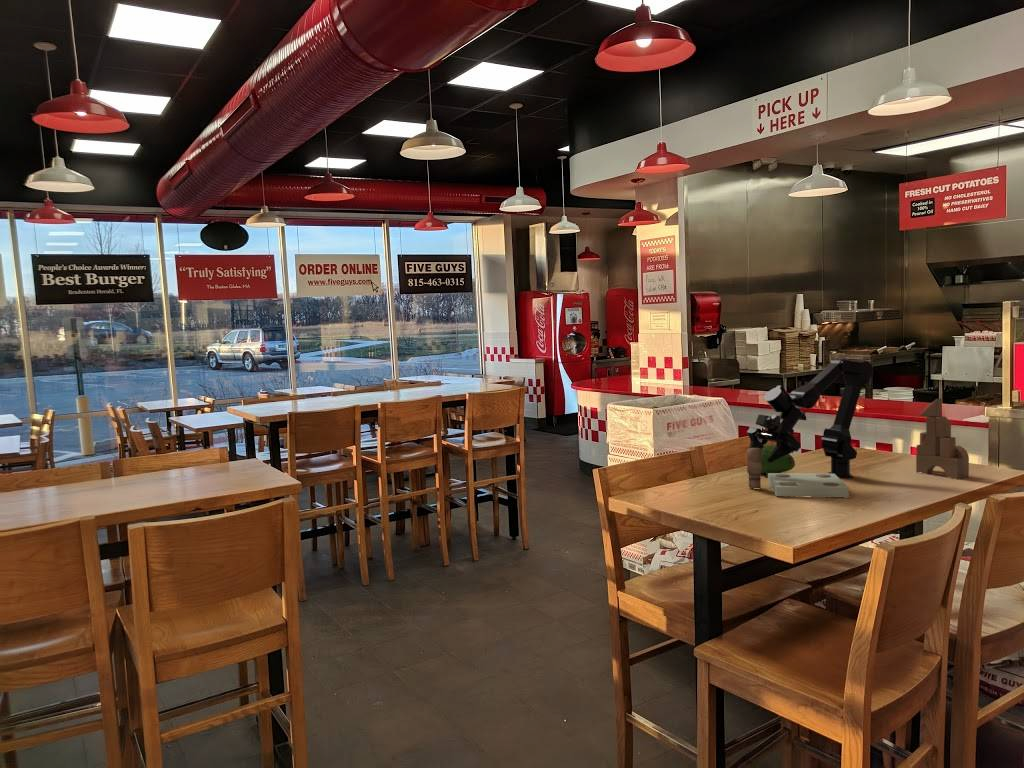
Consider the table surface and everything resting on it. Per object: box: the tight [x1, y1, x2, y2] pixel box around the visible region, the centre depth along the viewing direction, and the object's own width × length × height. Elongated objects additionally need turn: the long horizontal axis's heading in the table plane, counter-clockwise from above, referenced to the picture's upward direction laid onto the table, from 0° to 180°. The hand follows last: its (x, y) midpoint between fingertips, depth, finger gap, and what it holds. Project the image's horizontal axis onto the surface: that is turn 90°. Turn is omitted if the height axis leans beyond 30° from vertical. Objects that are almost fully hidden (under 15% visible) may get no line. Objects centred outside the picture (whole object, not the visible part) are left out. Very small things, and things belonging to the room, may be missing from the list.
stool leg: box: [746, 447, 763, 488], centre depth 226 cm, size 4×4×12 cm
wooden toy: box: [915, 398, 970, 480], centre depth 235 cm, size 15×7×25 cm, turn 27°
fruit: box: [761, 444, 796, 474], centre depth 246 cm, size 15×10×10 cm, turn 35°
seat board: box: [767, 472, 850, 499], centre depth 222 cm, size 20×20×3 cm
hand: (758, 459), depth 226 cm, fingers open, 9 cm apart
